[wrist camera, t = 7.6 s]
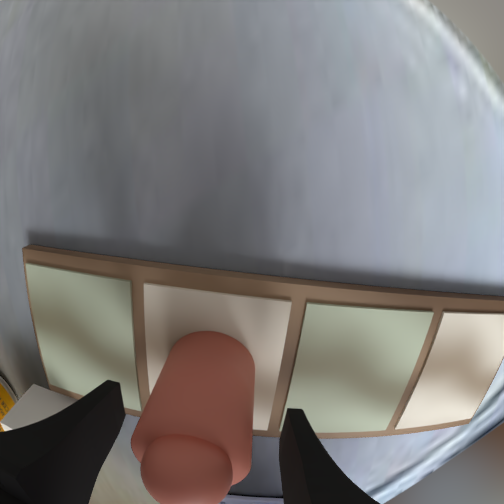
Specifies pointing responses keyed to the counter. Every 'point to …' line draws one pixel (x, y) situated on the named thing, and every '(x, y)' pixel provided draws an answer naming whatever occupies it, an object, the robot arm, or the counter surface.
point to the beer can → (6, 400)
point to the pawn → (198, 421)
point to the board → (269, 340)
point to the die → (35, 407)
